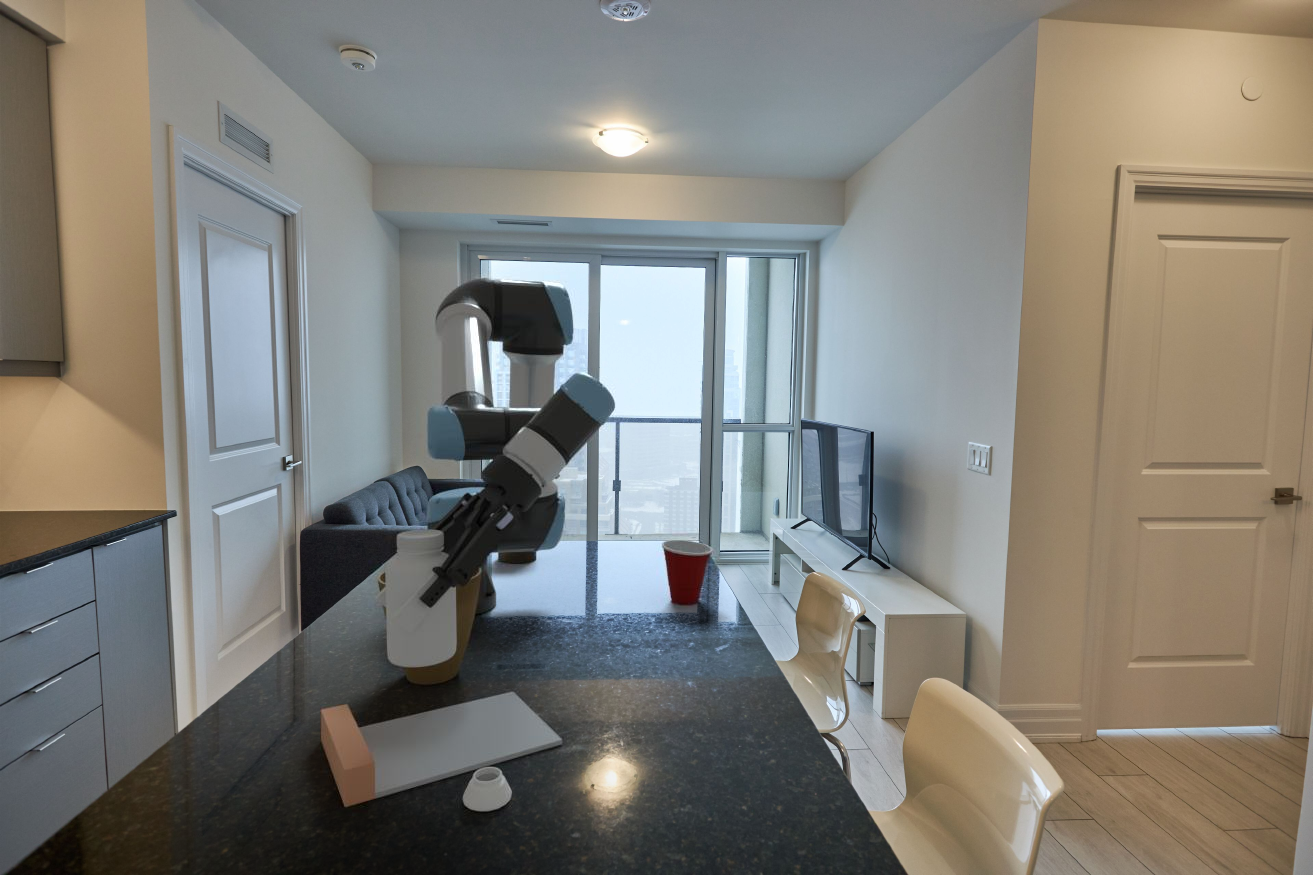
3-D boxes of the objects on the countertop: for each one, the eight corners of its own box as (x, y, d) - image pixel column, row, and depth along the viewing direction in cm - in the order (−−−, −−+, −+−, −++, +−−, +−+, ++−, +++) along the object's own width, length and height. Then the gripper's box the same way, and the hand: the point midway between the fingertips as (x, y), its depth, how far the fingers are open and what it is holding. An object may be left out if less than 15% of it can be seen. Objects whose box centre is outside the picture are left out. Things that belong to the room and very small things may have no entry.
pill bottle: (397, 644, 88) (396, 526, 87) (462, 643, 88) (462, 526, 87) (377, 669, 80) (376, 540, 79) (449, 668, 80) (448, 540, 79)
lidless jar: (458, 815, 72) (507, 814, 73) (458, 788, 72) (508, 786, 72) (468, 788, 77) (513, 786, 78) (468, 762, 77) (514, 761, 77)
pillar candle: (532, 564, 174) (533, 504, 173) (493, 563, 174) (494, 503, 173) (539, 555, 183) (540, 498, 182) (502, 554, 183) (503, 497, 183)
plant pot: (451, 649, 117) (451, 555, 116) (499, 676, 106) (500, 573, 105) (361, 673, 106) (361, 570, 105) (405, 706, 96) (404, 592, 95)
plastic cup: (708, 611, 140) (709, 552, 139) (655, 606, 142) (656, 548, 141) (714, 595, 151) (716, 540, 150) (665, 591, 153) (666, 537, 152)
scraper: (321, 740, 86) (320, 709, 86) (512, 695, 100) (513, 668, 100) (344, 806, 73) (344, 770, 73) (562, 744, 87) (562, 712, 86)
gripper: (577, 502, 83) (440, 661, 75) (511, 481, 100) (394, 609, 92) (535, 459, 79) (388, 621, 72) (474, 445, 97) (350, 575, 89)
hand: (392, 614), depth 82 cm, fingers closed on pill bottle, 8 cm apart
